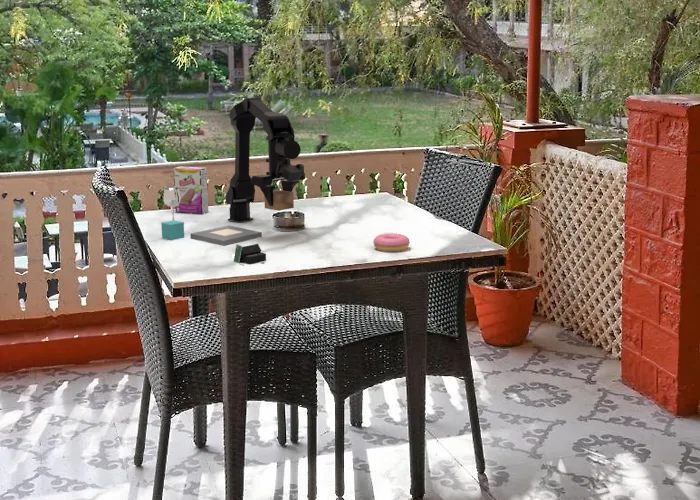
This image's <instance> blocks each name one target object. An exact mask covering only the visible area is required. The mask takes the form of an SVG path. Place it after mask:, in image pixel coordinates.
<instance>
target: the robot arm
mask: <svg viewBox="0 0 700 500" xmlns="http://www.w3.org/2000/svg"><path fill="white" fill-rule="evenodd" d="M228 116H229V119H230V125H231V127H232V128H233V130H234V132H235V133H234V134H235V136H234V137H235V138H234V140H235V141H234V142H235V145H234V147H235V148H234V174H233V176H232V177H231V178H230V181H229V187H228V189H227V192H226V194H225V196H224V198H225V203H226V204H229V218H227V221H229V222H236V223H244V222H248V221H253V220H254V217H251V207H250V206H251V205H250V204H251V203H254V202H255V196H256V195H255V194H256V188H255V186H256V187H257V188H259V189H260V191H261V192H262V194H263V197H264V196H265V198H266V200H267V202H268V204H269V206H273V191H275V190H274V189H275V188H276V185H274V184H273V183H274V182H278V181H280V182H281V188H282V190H283V191H289V192H293V190H294V187H296V186H297V184H298V183H300V182H301V180H305V179H306V173H305V165H304V164H303V163H298V164H297V163H296V164H295V165H294V164H293V165H292V164H291V160H294V159H297V158H298V157H299V156H300V154H301V151H302V150H301V148H302V147H301V146H300V144H299V142H297V141H296V140H295V137H296V136H295V131H294V128H293V126H292V124H291V121H290V119H289V117H288V116H287V115H286V114H285V113H281V112H275V111H273V110H272V109H271V108H270V107H269V106H267V104H265V103H264V102H262V100H261V99H260V98H259V97H245V98H243V100H242V101H241V102H238V103H236V104H235V105H233V107H232V108H230V110H229V115H228ZM256 119H257V120H258V121H260V122H261V123H262V129H263V130H264V132H265V133H266V135H267V136H266V137H265V140H266V141H267V144H268V145H267V149H268V151H267V152H268V158H266V159H265V162H266V163H268V171H266V172H265V174H256V175H252V176H251V175H250V154H251V153H250V151H251V150H250V149H251V148H250V146H251V144H250V143H251V132H252V131H253V129H254V128H255V125H256Z"/></svg>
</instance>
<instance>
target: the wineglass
mask: <svg viewBox="0 0 700 500" xmlns="http://www.w3.org/2000/svg"><path fill="white" fill-rule="evenodd" d="M163 202H164V204H165V206H167V207H170V208H171V213H172V214H171V216H172V220H171V221H173V220H174V221H176V220H175V207H176V206H178V205H179V204H180V202H181V195H180V191H179V188H174V187H166V188H164V191H163Z"/></svg>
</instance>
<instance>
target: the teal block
mask: <svg viewBox="0 0 700 500" xmlns="http://www.w3.org/2000/svg"><path fill="white" fill-rule="evenodd" d="M174 220H175V219H174ZM174 220H173V221H172V220H169V221H163V222H161V224H160V225H161V238H162V239H164V240H165V239H166V240H170V241H175V240H179V239H185V225H184V224H185V222H183V221H178V220H175V221H174Z"/></svg>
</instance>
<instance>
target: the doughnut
mask: <svg viewBox="0 0 700 500" xmlns="http://www.w3.org/2000/svg"><path fill="white" fill-rule="evenodd" d="M410 242H411V241H410V239H409V237H408V236H406V235H404V234H401V233H397V232H396V233H380V234H378V235H376V237H374V238H373V246H374V248H375V249H376V250H378V251H380V252H388V253H389V252H391V253H394V252H395V251H397V252H403V251H406V250H407V249H408V248H409V246H410ZM402 250H403V251H402ZM395 253H396V252H395Z"/></svg>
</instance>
